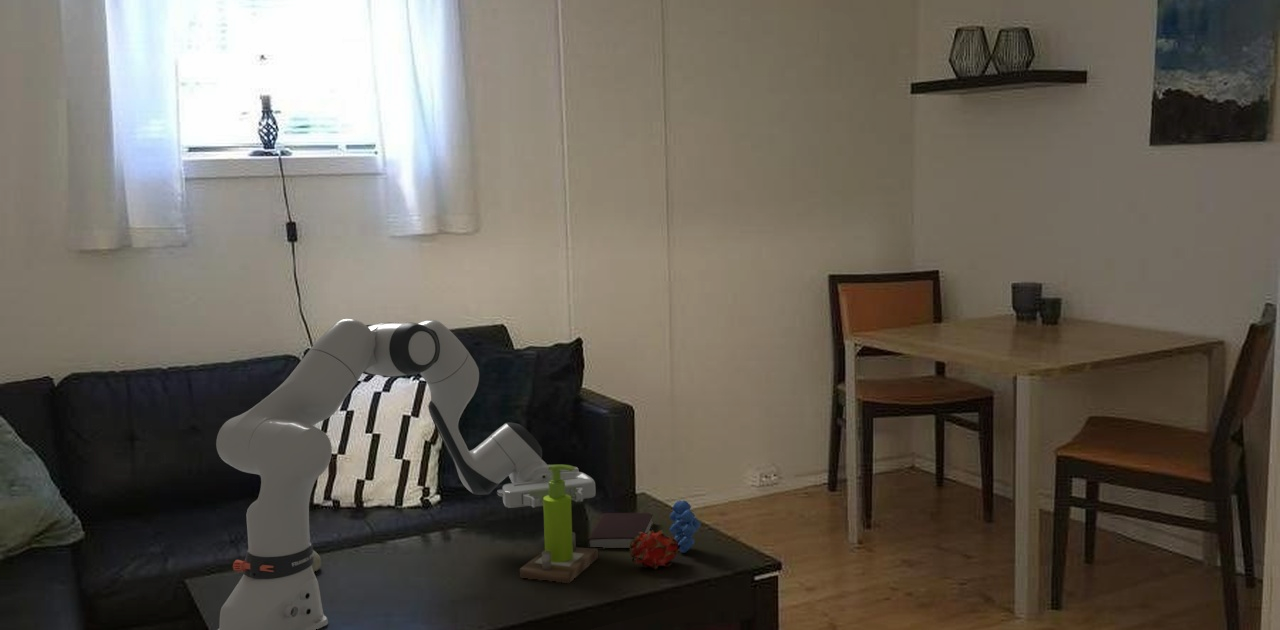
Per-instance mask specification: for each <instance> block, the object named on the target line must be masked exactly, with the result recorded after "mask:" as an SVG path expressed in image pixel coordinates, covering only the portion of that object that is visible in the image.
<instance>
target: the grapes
mask: <svg viewBox="0 0 1280 630" xmlns="http://www.w3.org/2000/svg"><path fill="white" fill-rule="evenodd" d="M691 508H692V505H690V503H689V502H688V501H687V500H677V501H676V502H675V503H674V504H673V506H672V508H671V509H672V511H671V513H670V514H669V519H671V521H672V522H673V524H671V526H670V528H669V532H670V533H671V534H672V535H674V537H673V539H676V540H677V541H678V542H679V543H678V545H681V546H680V550H679V551H678V552H680V553H682V554H685V553H687V551H689V549H690V548H692V547H693V546H694V543H695V539H694V538H693V536H694V535H695V533H696V532H697V531H698V530H699V528H700V527H701V526H702V523H701V522H700V521H699V520H698V518H696V515H695V514H694V512H693V511H692V510H691Z"/></svg>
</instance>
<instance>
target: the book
mask: <svg viewBox="0 0 1280 630" xmlns="http://www.w3.org/2000/svg"><path fill="white" fill-rule="evenodd" d="M653 516H654V515H653V513H648V512H647V513H646V512H643V513H642V512H608V513H607V512H605V513H602V514H601V516H600V518H599V519H598V521H597V523H596V525H595V527H594V528H593V530H592V531H591V533H590V535H589V537H588V539H587V545H588V548H590V547H603V548H602V549H605V548H608V547H609V548H616V547H617V548H619V547H623V548H626V547H630V543H631V541H632V540H634V537H635V536H640V534H638V533H639V532H643V533H647V532H649V529H650V526H651V524H652V523H653V520H652V518H653Z"/></svg>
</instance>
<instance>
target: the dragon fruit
mask: <svg viewBox="0 0 1280 630" xmlns="http://www.w3.org/2000/svg"><path fill="white" fill-rule="evenodd" d="M638 534H640V536H635V537H634V540H632V541H631V543H630V548H631V549H628V552H629V554H630V556H631V557H632V559H631V562H632V563H634V564H635V565H637V564H640V563H641V567H642V568H644V567H645V569H646V568H647V567H650V568H652V569H654V570H656V569H658V567H662V566H663V567H667V568H668V567H670V566H671V565H672V564H673V561H671V560H674V558H675V557H676V556H677V554H678V553H679V552H680V551H679V550H680V546H681V545H678V543H679V542H678V541H677V540H676V539H674V537H672V536H668V535H665V533H664V530H659V531H658V532H654V529H651V530H650V531H649V532H647V533H643V532H639V533H638Z"/></svg>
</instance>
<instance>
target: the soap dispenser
mask: <svg viewBox="0 0 1280 630" xmlns="http://www.w3.org/2000/svg"><path fill="white" fill-rule="evenodd" d="M550 465H551V466H550V467H549V470H552V478H553V479H551V480H550V481H549V495H547V496H545V497H544V498H543V506H542V507H543V529H544V530H543V538H544V550H545V551H550V552H551V562H564V561H568V560H570V559H572V558H573V545H572V532H573V519H572V518H573V517H572V515H573V514H572V512H573V511H572V500H571V496H570V495H567V494H565V481H564V480H562V479H561V476H560V470H569V471H573V470H574V469H575V468H576V467H577V466H573V465H570V464H550Z"/></svg>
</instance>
